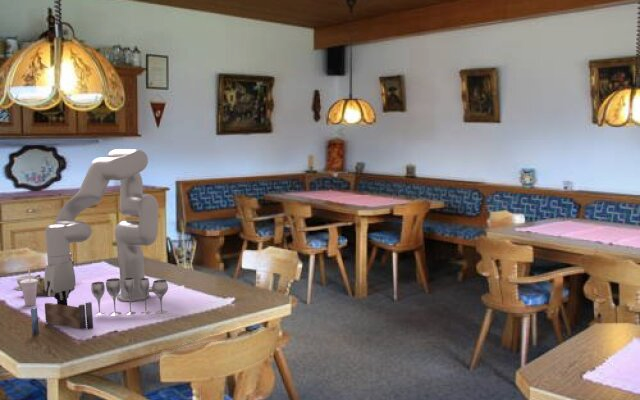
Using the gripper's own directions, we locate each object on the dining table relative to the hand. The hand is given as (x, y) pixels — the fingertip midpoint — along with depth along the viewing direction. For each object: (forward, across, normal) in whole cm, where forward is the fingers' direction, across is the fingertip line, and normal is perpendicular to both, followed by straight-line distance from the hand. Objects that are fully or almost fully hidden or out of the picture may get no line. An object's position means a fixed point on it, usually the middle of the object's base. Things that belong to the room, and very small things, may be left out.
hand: (62, 309), depth 228 cm
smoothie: (+5, -10, -30) cm, 32 cm away
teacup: (+5, -27, -54) cm, 61 cm away
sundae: (+5, -39, -42) cm, 58 cm away
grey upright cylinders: (+5, +7, +8) cm, 11 cm away
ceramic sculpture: (+5, -22, -39) cm, 45 cm away
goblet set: (+5, -18, +14) cm, 24 cm away
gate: (+4, +2, +4) cm, 6 cm away
